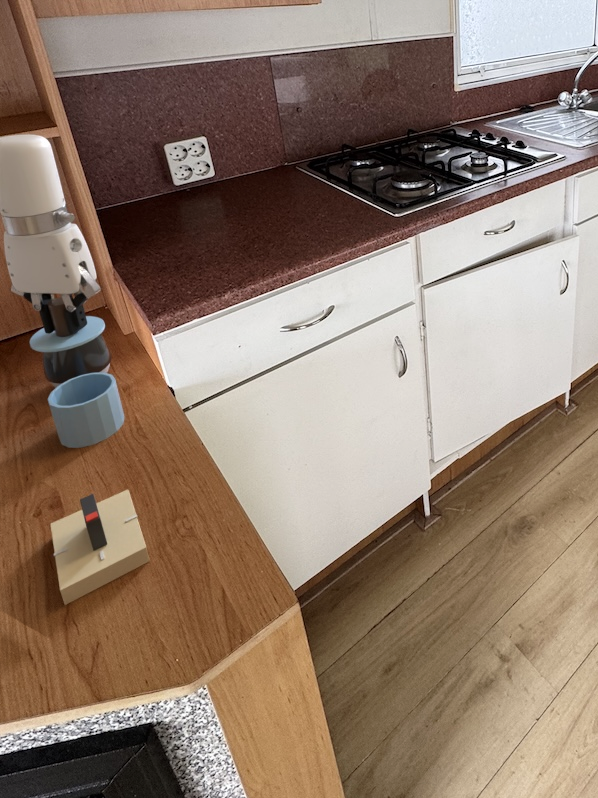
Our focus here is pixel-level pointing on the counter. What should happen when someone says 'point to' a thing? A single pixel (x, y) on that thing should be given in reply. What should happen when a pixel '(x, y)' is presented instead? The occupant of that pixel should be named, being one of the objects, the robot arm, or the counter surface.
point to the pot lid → (64, 331)
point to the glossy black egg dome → (77, 361)
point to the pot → (86, 409)
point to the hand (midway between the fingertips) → (66, 328)
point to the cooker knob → (93, 522)
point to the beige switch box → (105, 564)
